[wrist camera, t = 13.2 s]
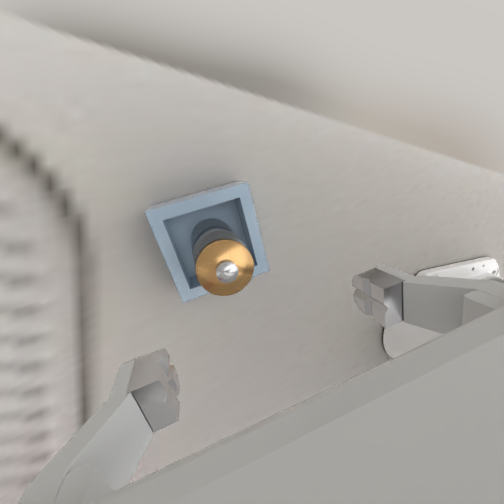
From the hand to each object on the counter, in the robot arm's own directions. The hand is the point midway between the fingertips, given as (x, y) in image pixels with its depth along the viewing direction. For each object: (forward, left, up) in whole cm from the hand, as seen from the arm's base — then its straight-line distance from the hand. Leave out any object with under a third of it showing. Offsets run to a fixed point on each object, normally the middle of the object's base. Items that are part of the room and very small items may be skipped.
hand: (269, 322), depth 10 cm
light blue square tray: (+1, 0, -16) cm, 16 cm away
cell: (0, 0, -15) cm, 15 cm away
